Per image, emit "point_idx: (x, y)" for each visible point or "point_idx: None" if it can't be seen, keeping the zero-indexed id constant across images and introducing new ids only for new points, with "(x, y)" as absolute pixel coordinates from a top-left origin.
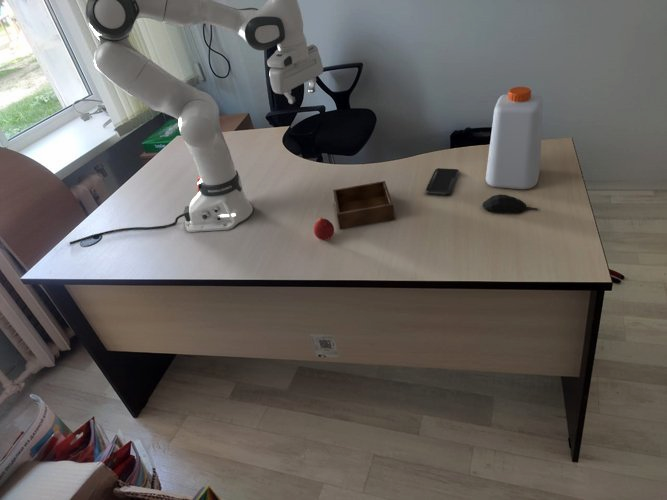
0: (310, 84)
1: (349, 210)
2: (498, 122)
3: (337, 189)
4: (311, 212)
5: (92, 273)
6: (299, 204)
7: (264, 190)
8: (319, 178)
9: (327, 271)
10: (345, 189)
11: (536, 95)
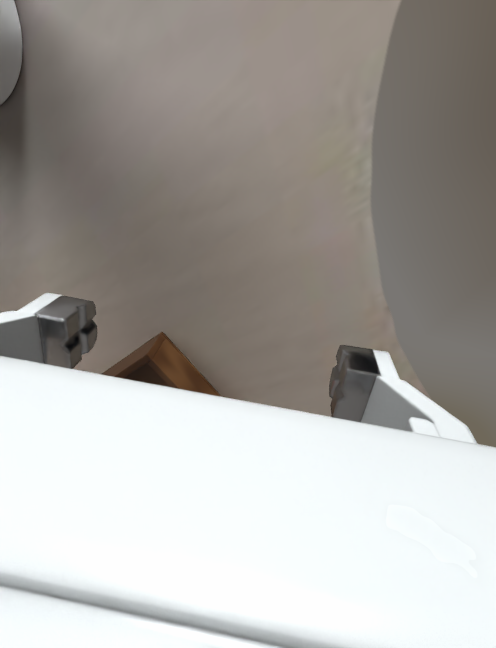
0: (387, 402)
1: (150, 376)
2: None
3: (153, 364)
4: (103, 291)
5: None
6: (115, 235)
7: (119, 32)
8: (267, 208)
9: None
10: (165, 380)
11: None
